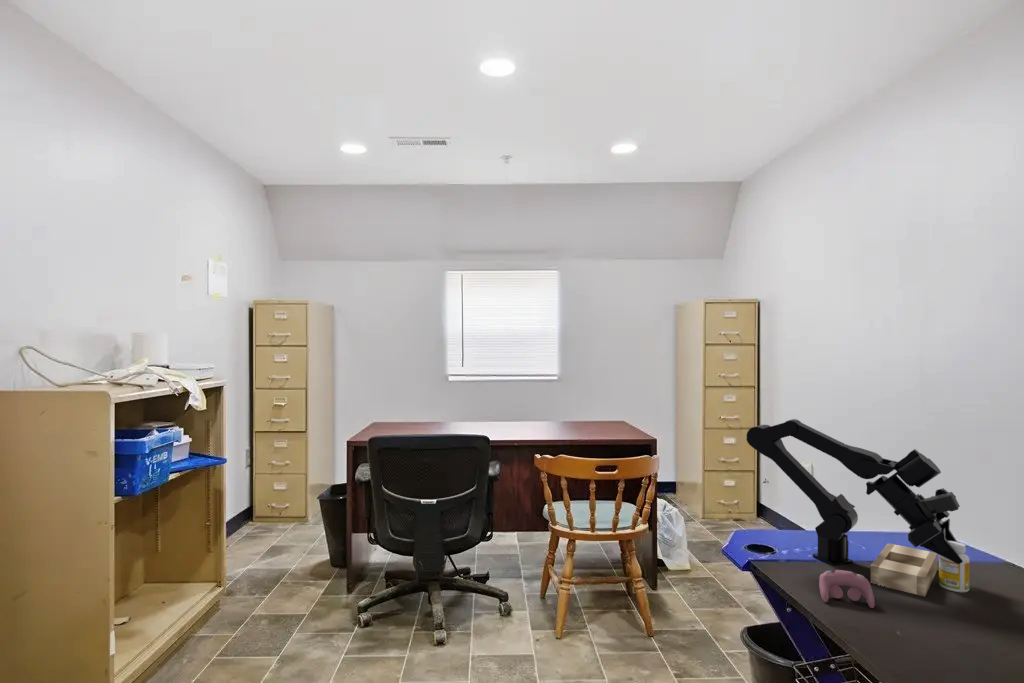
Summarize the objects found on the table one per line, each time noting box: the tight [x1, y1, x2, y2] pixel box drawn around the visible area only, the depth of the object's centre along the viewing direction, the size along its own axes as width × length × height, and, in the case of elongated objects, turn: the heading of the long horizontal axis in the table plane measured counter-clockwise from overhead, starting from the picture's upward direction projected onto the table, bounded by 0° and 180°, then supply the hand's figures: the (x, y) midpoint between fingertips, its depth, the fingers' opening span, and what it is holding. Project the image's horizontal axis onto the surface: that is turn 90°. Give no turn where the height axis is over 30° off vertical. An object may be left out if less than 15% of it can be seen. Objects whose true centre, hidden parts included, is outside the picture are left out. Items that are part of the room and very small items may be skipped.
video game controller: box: [818, 569, 876, 609], centre depth 121 cm, size 10×5×7 cm, turn 71°
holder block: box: [870, 542, 938, 597], centre depth 134 cm, size 10×20×4 cm, turn 138°
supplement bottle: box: [938, 541, 971, 593], centre depth 128 cm, size 5×5×10 cm
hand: (962, 559), depth 127 cm, fingers closed on supplement bottle, 5 cm apart
